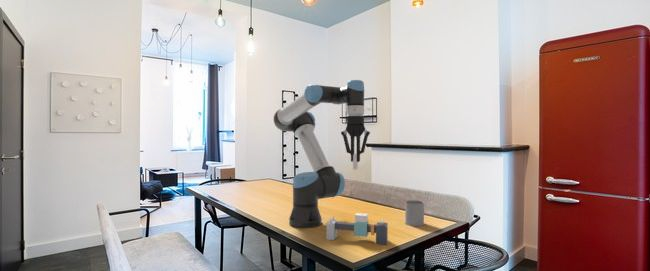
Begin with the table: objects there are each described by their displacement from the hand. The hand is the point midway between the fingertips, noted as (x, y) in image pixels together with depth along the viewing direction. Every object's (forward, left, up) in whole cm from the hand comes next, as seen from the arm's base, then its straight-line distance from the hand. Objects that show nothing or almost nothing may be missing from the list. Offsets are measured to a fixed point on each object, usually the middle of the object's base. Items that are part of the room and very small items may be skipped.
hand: (355, 169), depth 141 cm
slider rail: (+3, -14, -26) cm, 30 cm away
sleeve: (+5, -14, -24) cm, 28 cm away
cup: (+25, +15, -27) cm, 40 cm away
